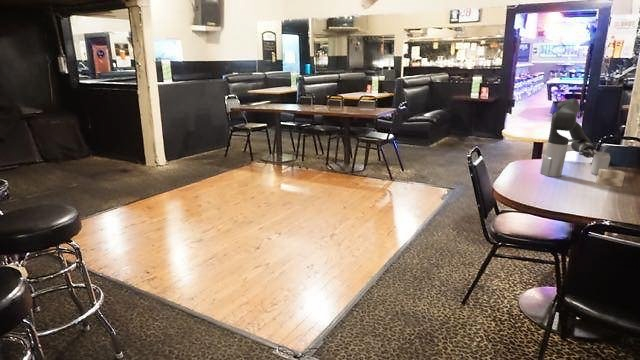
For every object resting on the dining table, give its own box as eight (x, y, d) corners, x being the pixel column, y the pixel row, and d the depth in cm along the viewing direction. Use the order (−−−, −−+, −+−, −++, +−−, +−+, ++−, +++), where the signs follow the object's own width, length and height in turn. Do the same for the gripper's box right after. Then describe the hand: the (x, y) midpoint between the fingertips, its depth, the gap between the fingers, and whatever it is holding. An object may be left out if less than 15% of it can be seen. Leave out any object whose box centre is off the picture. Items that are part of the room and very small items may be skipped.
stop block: (598, 184, 208) (601, 170, 206) (596, 182, 212) (599, 168, 210) (621, 186, 205) (625, 173, 203) (618, 184, 209) (622, 171, 207)
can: (609, 176, 222) (614, 154, 218) (595, 176, 222) (600, 154, 218) (600, 172, 229) (605, 151, 225) (586, 172, 229) (591, 151, 226)
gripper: (576, 142, 249) (583, 149, 233) (601, 144, 245) (610, 151, 230) (573, 155, 251) (580, 162, 236) (598, 157, 247) (607, 164, 232)
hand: (595, 156), depth 233 cm, fingers closed
